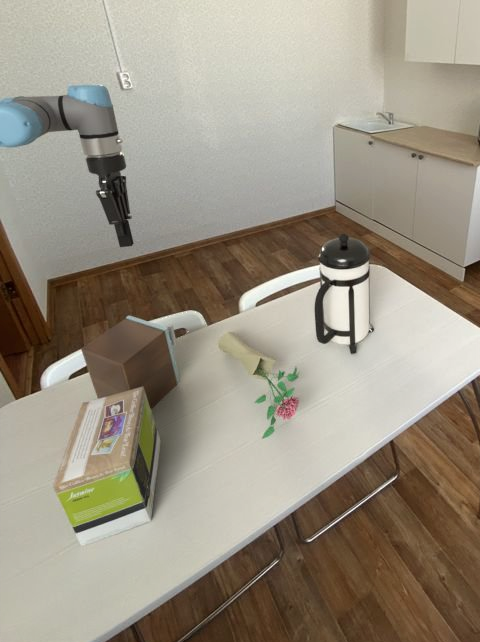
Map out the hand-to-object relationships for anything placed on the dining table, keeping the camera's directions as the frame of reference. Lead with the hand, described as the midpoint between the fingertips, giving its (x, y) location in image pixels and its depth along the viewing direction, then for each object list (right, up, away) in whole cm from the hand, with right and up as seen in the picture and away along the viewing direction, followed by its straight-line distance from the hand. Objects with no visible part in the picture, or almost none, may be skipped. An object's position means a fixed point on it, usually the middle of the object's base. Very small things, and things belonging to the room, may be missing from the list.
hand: (126, 245), depth 97 cm
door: (+12, -29, -6) cm, 32 cm away
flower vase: (+37, -31, -10) cm, 49 cm away
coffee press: (+55, -25, +4) cm, 61 cm away
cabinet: (+10, -32, -11) cm, 35 cm away
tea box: (+18, -39, -30) cm, 53 cm away
